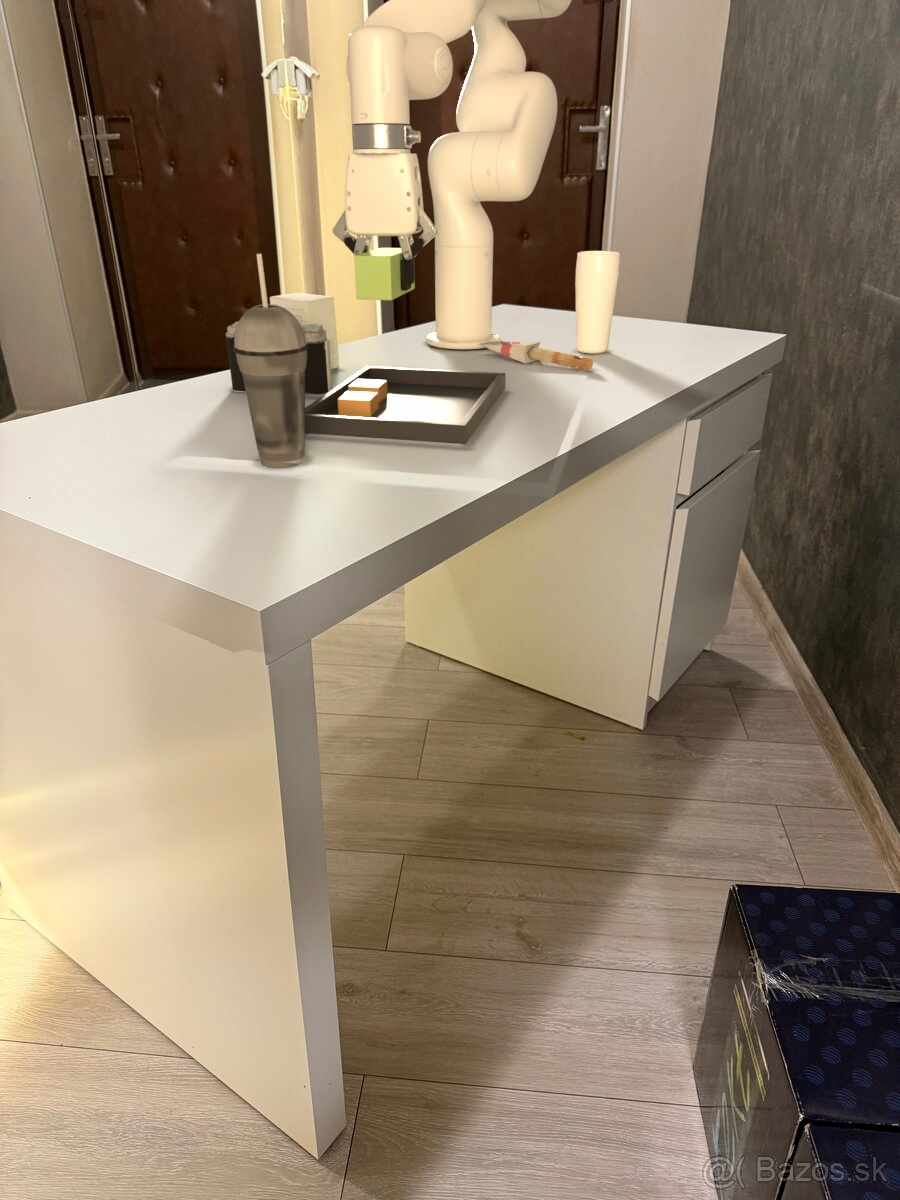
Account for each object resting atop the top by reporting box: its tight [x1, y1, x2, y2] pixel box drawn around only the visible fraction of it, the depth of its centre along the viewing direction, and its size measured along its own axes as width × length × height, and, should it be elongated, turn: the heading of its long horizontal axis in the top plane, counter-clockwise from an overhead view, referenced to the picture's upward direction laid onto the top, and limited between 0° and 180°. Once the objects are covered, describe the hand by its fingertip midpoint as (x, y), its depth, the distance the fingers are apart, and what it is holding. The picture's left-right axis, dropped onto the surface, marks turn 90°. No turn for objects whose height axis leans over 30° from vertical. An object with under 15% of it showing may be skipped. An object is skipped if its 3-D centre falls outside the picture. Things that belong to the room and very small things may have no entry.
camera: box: [225, 320, 333, 395], centre depth 109 cm, size 15×7×10 cm, turn 72°
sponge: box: [353, 247, 416, 301], centre depth 116 cm, size 12×5×6 cm, turn 167°
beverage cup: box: [233, 253, 308, 469], centre depth 82 cm, size 7×7×20 cm
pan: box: [305, 365, 507, 445], centre depth 102 cm, size 26×20×3 cm
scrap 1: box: [348, 379, 387, 403], centre depth 106 cm, size 4×4×2 cm
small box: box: [269, 292, 340, 370], centre depth 122 cm, size 8×6×10 cm
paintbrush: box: [479, 341, 594, 372], centre depth 128 cm, size 4×3×20 cm
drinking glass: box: [574, 250, 621, 355], centre depth 133 cm, size 7×7×15 cm
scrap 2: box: [338, 391, 379, 417], centre depth 101 cm, size 4×4×2 cm
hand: (386, 287), depth 117 cm, fingers closed on sponge, 5 cm apart
